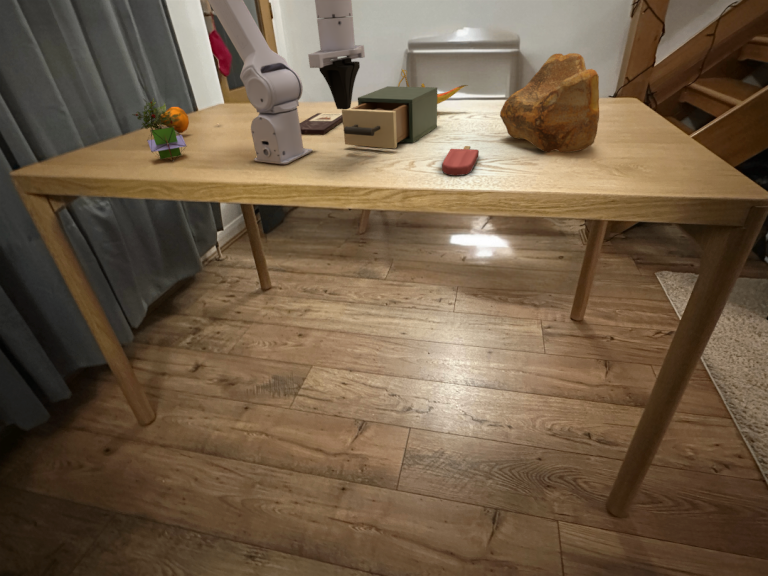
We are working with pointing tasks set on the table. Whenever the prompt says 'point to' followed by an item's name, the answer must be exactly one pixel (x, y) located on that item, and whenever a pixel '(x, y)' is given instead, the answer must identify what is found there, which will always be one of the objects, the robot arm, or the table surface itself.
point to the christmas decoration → (164, 117)
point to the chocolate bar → (320, 123)
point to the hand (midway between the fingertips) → (343, 108)
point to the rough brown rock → (556, 106)
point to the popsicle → (460, 161)
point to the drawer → (376, 124)
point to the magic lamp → (440, 97)
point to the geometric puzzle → (166, 142)
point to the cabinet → (410, 107)
